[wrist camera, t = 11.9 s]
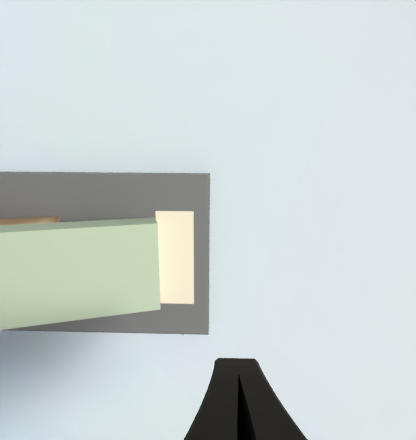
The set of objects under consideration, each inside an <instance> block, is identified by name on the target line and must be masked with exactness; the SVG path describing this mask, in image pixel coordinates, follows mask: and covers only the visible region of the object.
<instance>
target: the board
mask: <svg viewBox="0 0 416 440" xmlns="http://www.w3.org/2000/svg"><path fill="white" fill-rule="evenodd" d="M209 215H210V174H203V173H85V172H0V219H13V218H35V217H58V216H60V222H75V221H94V220H113V219H132V218H151V217H155V219H156V221H157V223H158V249H159V278H160V307H161V309H160V310H152V311H144V312H137V313H129V314H121V315H113V316H106V317H98V318H90V319H82V320H74V321H67V322H59V323H51V324H43V325H35V326H28V327H20V328H12V329H4V330H21V331H66V332H112V333H158V334H204V335H208V331H209Z"/></svg>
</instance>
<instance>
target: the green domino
mask: <svg viewBox="0 0 416 440" xmlns="http://www.w3.org/2000/svg"><path fill="white" fill-rule="evenodd" d="M160 309H161V307H160V278H159V249H158V223H157V221H156V219H155V217H151V218H132V219H113V220H94V221H75V222H56V223H37V224H18V225H0V330H4V329H12V328H20V327H28V326H35V325H43V324H51V323H59V322H67V321H74V320H82V319H90V318H98V317H106V316H113V315H121V314H129V313H137V312H144V311H152V310H160Z"/></svg>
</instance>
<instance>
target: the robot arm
mask: <svg viewBox="0 0 416 440" xmlns="http://www.w3.org/2000/svg"><path fill="white" fill-rule="evenodd" d="M184 440H307V438H306V437H305V436H304V435H303V433H302V432H301V431H300V429H299V428H298V427H297V425H296V424H295V422H294V421H293V420H292V418H291V417H290V415H289V414H288V413H287V411H286V410H285V408H284V407H283V405H282V404H281V402H280V400H279V399H278V397H277V396H276V394H275V393H274V391H273V389H272V388H271V386H270V384H269V383H268V381H267V379H266V377H265V376H264V374H263V372H262V370H261V368H260V366H259V364H258V362H257V361H256V360H255V359H238V358H218V359H217V360H216V361H215V365H214V370H213V374H212V378H211V381H210V384H209V387H208V389H207V392H206V394H205V397H204V399H203V402H202V404H201V406H200V409H199V411H198V413H197V415H196V417H195V419H194V421H193V423H192V425H191V427H190V429H189V431H188V433H187V435H186V437H185V438H184Z"/></svg>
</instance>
